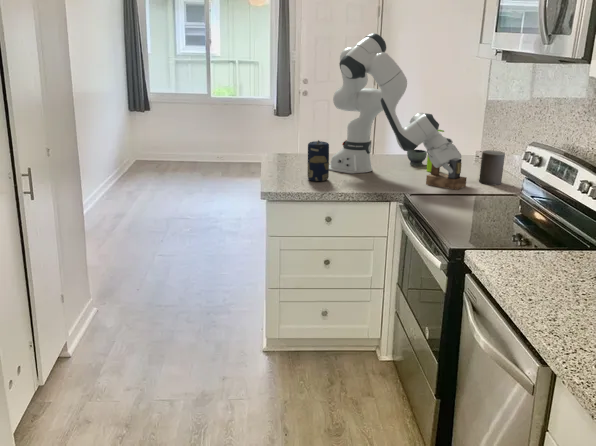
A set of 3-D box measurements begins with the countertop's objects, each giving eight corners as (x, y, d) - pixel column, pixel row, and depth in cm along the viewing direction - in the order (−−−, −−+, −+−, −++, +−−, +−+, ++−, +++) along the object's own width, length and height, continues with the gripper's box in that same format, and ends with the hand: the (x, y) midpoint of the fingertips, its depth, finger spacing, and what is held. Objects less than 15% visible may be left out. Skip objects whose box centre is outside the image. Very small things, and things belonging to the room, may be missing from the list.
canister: (331, 178, 270) (332, 139, 264) (323, 183, 262) (324, 142, 256) (312, 176, 274) (313, 137, 268) (303, 181, 265) (304, 141, 260)
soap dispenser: (441, 172, 284) (444, 130, 278) (426, 172, 285) (429, 130, 279) (440, 170, 289) (444, 129, 283) (426, 169, 290) (429, 128, 284)
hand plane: (426, 184, 261) (427, 164, 259) (434, 181, 267) (436, 161, 264) (457, 189, 252) (459, 169, 249) (465, 186, 258) (467, 166, 255)
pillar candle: (475, 182, 265) (479, 149, 260) (483, 178, 272) (487, 146, 267) (497, 186, 259) (501, 152, 254) (504, 182, 267) (508, 149, 262)
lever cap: (447, 187, 256) (449, 159, 253) (452, 185, 260) (455, 158, 257) (455, 188, 254) (457, 161, 251) (460, 186, 258) (463, 159, 254)
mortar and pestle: (420, 162, 307) (422, 139, 304) (429, 165, 299) (431, 142, 295) (400, 163, 304) (402, 140, 300) (409, 167, 296) (410, 143, 292)
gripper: (430, 144, 248) (450, 170, 245) (452, 138, 263) (471, 163, 260) (420, 153, 253) (439, 179, 249) (442, 147, 267) (461, 171, 264)
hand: (455, 171), depth 255 cm, fingers closed on lever cap, 5 cm apart
